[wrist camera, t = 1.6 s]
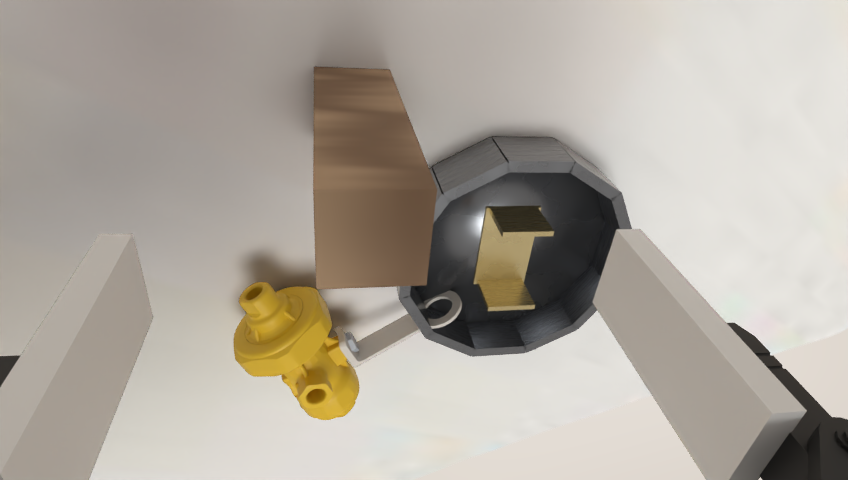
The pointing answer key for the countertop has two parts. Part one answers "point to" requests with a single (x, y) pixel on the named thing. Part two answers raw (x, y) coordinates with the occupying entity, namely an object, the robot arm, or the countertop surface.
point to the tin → (515, 245)
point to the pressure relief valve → (314, 345)
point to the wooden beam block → (368, 184)
